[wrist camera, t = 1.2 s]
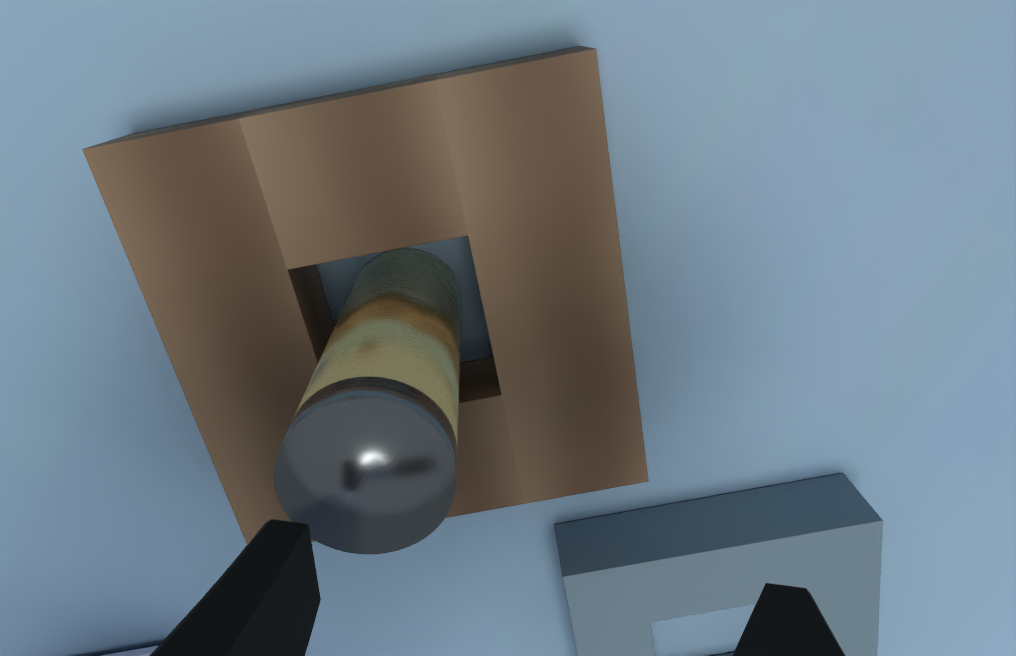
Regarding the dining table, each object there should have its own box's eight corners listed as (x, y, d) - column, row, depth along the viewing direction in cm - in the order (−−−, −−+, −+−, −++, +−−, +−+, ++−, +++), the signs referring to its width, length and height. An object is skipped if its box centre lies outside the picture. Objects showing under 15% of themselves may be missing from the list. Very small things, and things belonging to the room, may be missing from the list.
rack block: (592, 721, 28) (602, 783, 26) (554, 524, 24) (562, 576, 22) (840, 679, 28) (873, 738, 26) (843, 473, 24) (882, 520, 22)
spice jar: (368, 358, 21) (304, 567, 13) (339, 259, 20) (248, 422, 12) (471, 339, 21) (472, 537, 13) (449, 239, 20) (434, 388, 12)
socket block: (272, 500, 23) (250, 552, 21) (130, 134, 18) (82, 149, 16) (630, 435, 23) (648, 481, 21) (580, 45, 18) (595, 48, 16)
